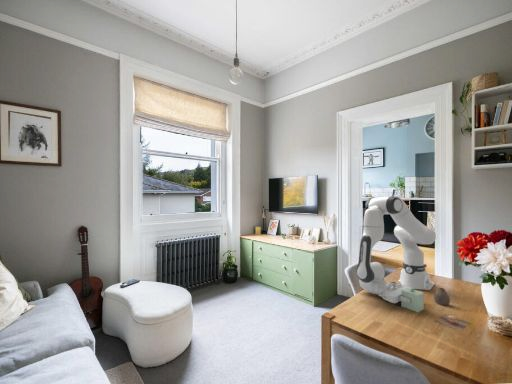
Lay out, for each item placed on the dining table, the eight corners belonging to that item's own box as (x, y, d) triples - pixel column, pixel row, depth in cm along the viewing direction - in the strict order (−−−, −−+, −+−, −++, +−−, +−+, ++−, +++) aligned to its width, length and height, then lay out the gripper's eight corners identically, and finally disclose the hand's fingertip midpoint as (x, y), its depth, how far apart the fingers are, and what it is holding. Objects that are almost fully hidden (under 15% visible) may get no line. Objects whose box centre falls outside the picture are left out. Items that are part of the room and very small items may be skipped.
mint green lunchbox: (407, 304, 134) (407, 285, 134) (423, 310, 127) (423, 290, 127) (401, 307, 131) (401, 287, 131) (418, 313, 124) (418, 292, 124)
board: (444, 316, 122) (444, 314, 122) (470, 325, 114) (470, 323, 114) (433, 323, 116) (433, 320, 116) (460, 333, 107) (460, 331, 107)
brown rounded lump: (452, 308, 130) (452, 291, 130) (437, 307, 132) (437, 290, 132) (445, 302, 137) (445, 286, 137) (431, 301, 138) (431, 285, 138)
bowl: (449, 319, 117) (449, 314, 117) (458, 322, 114) (458, 317, 114) (446, 321, 115) (446, 316, 115) (455, 324, 112) (455, 319, 112)
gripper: (377, 288, 134) (403, 297, 123) (397, 281, 145) (423, 288, 134) (377, 300, 134) (403, 310, 123) (397, 292, 145) (423, 300, 134)
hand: (414, 299), depth 128 cm, fingers closed on mint green lunchbox, 6 cm apart
